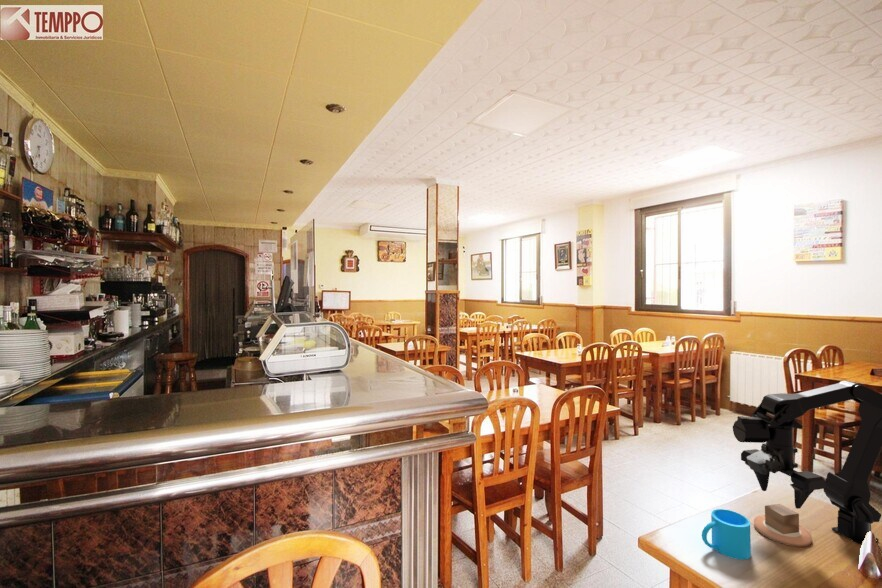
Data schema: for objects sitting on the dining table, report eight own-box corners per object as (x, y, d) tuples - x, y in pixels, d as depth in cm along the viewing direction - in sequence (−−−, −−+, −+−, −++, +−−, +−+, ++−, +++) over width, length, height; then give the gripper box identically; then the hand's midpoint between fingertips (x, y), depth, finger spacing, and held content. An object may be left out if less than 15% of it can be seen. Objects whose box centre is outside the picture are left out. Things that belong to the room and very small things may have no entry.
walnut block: (780, 521, 111) (780, 503, 111) (799, 532, 106) (798, 513, 106) (765, 523, 110) (764, 505, 110) (783, 534, 105) (782, 515, 105)
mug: (732, 537, 106) (731, 507, 106) (759, 557, 98) (758, 525, 98) (691, 541, 105) (690, 511, 105) (715, 562, 97) (714, 530, 97)
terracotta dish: (778, 517, 115) (778, 512, 115) (824, 543, 103) (824, 538, 103) (742, 522, 113) (742, 517, 113) (785, 549, 101) (785, 544, 101)
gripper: (724, 432, 116) (725, 485, 116) (789, 459, 97) (790, 522, 97) (756, 429, 117) (757, 481, 117) (827, 455, 99) (828, 517, 99)
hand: (780, 499), depth 108 cm, fingers open, 9 cm apart
